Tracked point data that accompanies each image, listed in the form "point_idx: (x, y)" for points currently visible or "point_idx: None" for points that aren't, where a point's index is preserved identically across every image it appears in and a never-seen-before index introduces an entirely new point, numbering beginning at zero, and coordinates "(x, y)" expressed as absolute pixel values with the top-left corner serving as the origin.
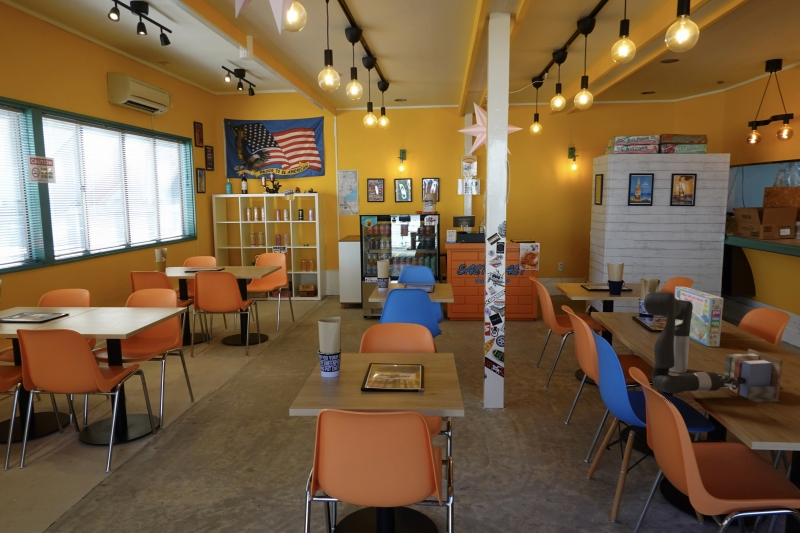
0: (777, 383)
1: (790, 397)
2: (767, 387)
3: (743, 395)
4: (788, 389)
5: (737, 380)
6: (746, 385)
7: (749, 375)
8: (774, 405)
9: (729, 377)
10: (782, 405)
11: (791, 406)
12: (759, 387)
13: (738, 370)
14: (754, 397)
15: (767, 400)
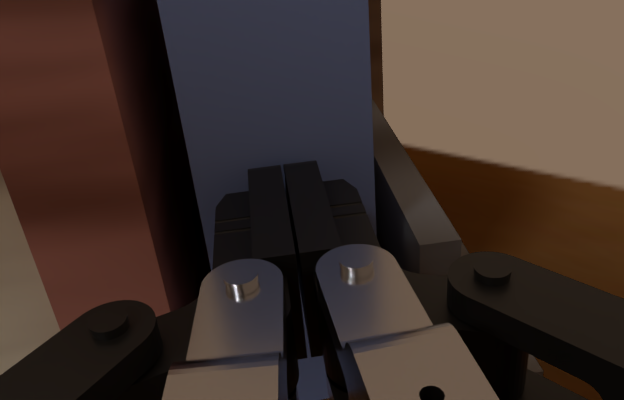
0: (379, 51)
1: None
2: (389, 131)
3: (312, 393)
4: None
5: (523, 284)
6: None
7: (369, 60)
8: (582, 257)
9: (385, 373)
10: (548, 213)
11: (547, 179)
12: (417, 172)
13: (93, 83)
14: None
15: (461, 254)
